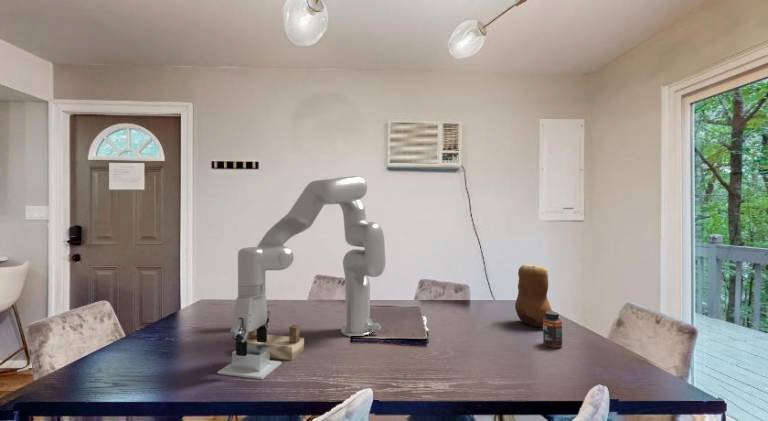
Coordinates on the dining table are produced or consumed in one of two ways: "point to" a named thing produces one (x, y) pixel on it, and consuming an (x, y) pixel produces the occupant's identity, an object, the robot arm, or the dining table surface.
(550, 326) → the supplement bottle
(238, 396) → the dining table surface
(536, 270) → the butternut squash
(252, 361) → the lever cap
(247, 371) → the mat
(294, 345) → the wooden peg stand
